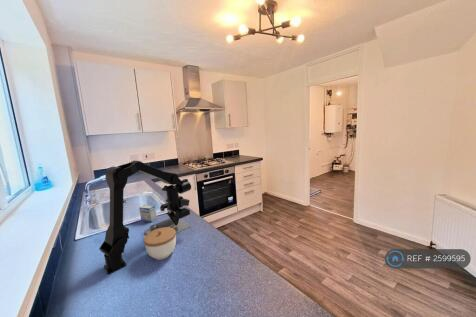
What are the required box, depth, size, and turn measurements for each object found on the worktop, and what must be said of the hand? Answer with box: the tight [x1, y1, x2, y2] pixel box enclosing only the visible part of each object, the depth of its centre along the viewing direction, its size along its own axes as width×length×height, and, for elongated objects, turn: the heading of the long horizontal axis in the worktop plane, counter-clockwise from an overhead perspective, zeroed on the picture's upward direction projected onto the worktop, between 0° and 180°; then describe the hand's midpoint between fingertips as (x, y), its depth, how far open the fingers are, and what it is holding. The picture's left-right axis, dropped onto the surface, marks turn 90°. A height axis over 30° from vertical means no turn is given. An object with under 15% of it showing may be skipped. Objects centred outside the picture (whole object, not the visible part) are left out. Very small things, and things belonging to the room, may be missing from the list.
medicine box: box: [138, 204, 157, 223], centre depth 115 cm, size 8×4×9 cm, turn 73°
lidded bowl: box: [143, 227, 177, 261], centre depth 82 cm, size 13×13×11 cm
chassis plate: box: [143, 218, 192, 236], centre depth 103 cm, size 15×19×2 cm
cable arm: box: [149, 217, 174, 231], centre depth 102 cm, size 3×14×4 cm, turn 136°
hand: (176, 225), depth 101 cm, fingers closed
